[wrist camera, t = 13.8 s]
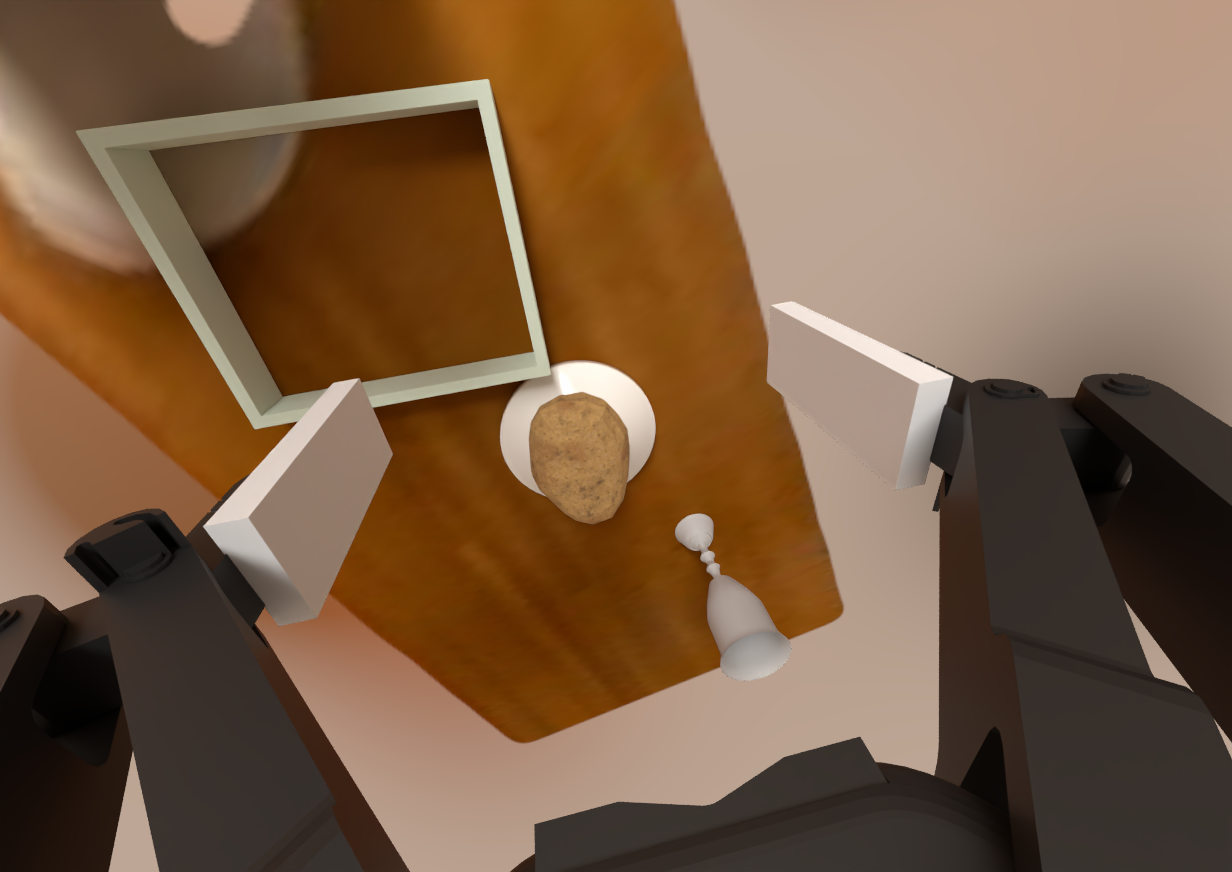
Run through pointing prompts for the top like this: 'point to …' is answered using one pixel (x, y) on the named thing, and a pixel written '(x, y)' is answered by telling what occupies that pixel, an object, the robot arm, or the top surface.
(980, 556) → the robot arm
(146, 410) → the top surface
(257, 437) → the top surface
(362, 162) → the top surface
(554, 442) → the potato
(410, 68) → the top surface
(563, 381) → the plate
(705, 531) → the chalice
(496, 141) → the crate
